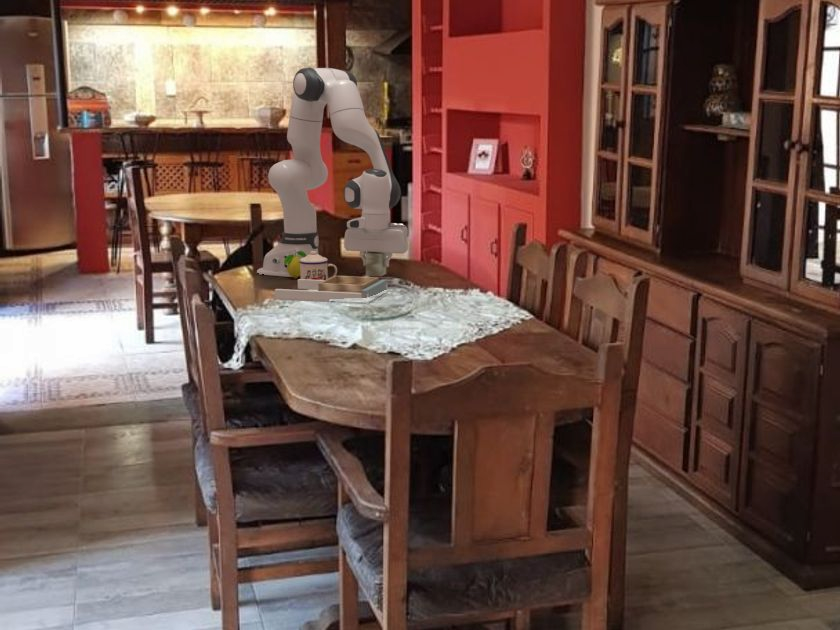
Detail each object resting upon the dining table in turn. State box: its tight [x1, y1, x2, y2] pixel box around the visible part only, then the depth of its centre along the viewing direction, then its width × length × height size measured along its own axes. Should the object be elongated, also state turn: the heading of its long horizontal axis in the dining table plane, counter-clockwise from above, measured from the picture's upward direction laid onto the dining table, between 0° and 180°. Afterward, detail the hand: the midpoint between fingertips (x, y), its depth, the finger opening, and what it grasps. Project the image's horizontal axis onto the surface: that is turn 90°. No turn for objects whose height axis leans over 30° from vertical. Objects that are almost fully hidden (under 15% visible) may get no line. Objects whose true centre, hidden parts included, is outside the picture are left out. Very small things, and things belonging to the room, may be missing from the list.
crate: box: [317, 275, 380, 293], centre depth 322 cm, size 14×14×5 cm
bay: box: [274, 278, 389, 303], centre depth 324 cm, size 29×19×5 cm, turn 73°
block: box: [365, 252, 387, 277], centre depth 337 cm, size 5×5×7 cm
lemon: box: [284, 251, 307, 280], centre depth 359 cm, size 7×6×10 cm
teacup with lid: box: [299, 251, 338, 280], centre depth 343 cm, size 12×9×12 cm
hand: (376, 266), depth 337 cm, fingers closed on block, 5 cm apart
